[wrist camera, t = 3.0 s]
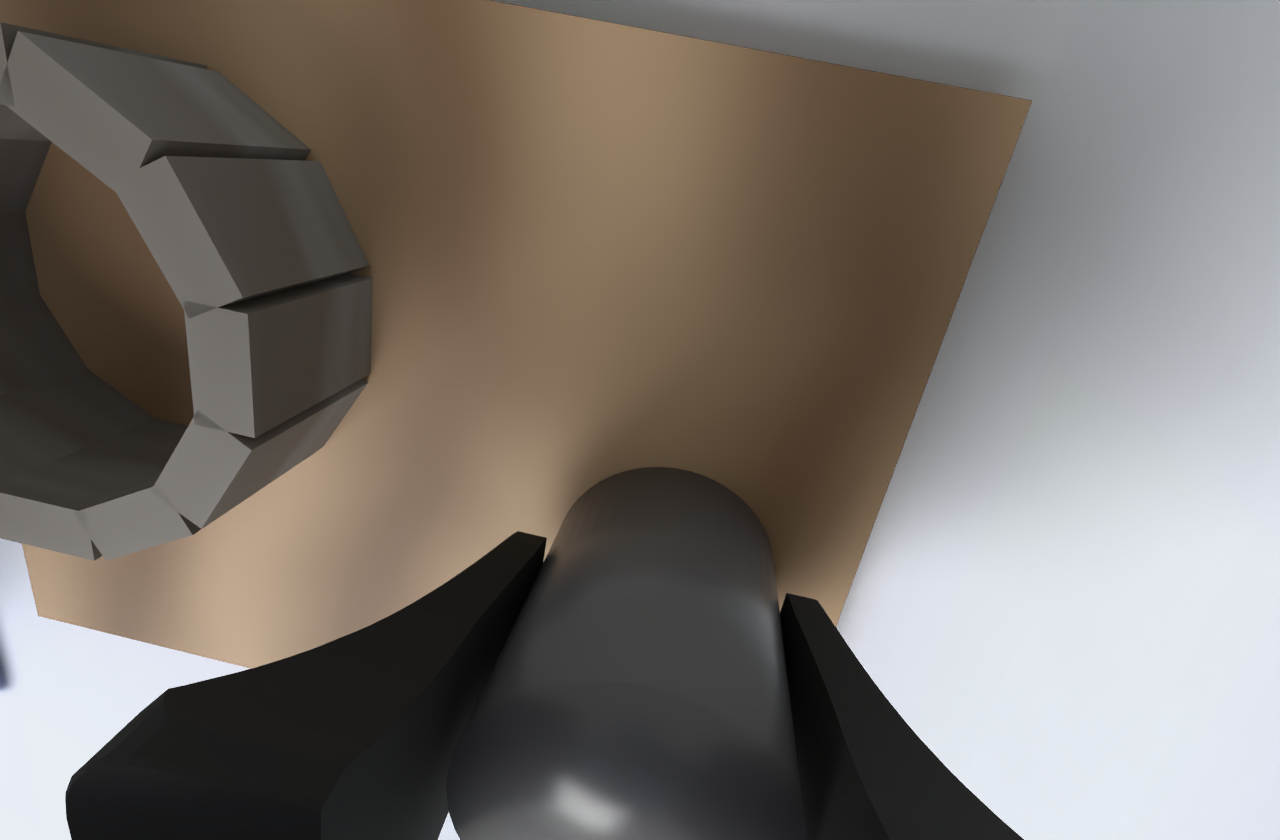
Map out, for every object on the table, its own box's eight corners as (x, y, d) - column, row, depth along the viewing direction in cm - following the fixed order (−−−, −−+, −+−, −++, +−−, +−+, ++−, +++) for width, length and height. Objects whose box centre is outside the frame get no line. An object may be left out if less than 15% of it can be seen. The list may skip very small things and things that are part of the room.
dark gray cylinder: (543, 626, 15) (435, 892, 9) (572, 445, 13) (458, 641, 8) (743, 673, 15) (753, 975, 9) (800, 495, 13) (854, 735, 7)
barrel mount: (73, 592, 18) (-124, 718, 14) (-59, -91, 12) (-480, -234, 8) (769, 763, 17) (783, 954, 13) (1006, 106, 11) (1178, 65, 7)
